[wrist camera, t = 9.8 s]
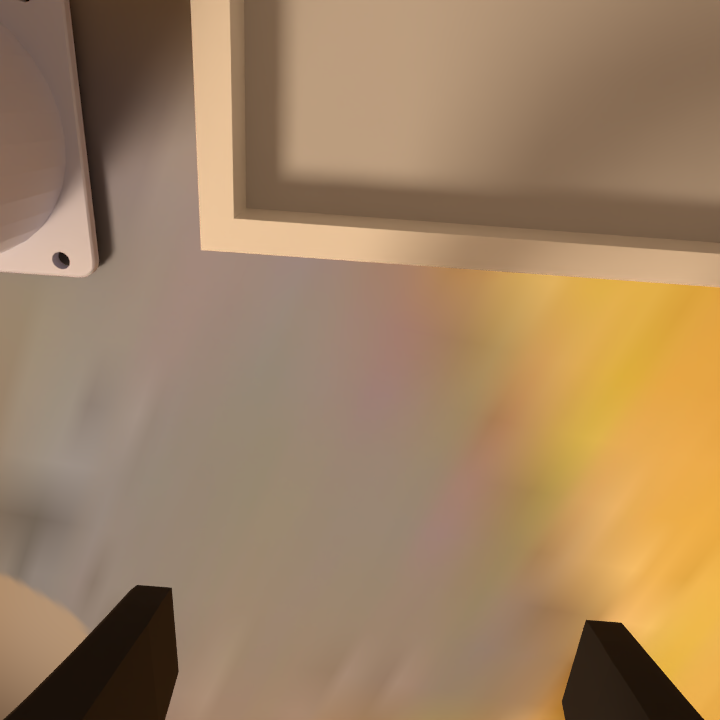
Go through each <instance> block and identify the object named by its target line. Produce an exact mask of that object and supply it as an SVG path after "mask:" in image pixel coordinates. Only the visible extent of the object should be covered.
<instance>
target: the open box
mask: <svg viewBox="0 0 720 720" xmlns="http://www.w3.org/2000/svg"><path fill="white" fill-rule="evenodd" d="M190 1H191V25H192V48H193V72H194V96H195V119H196V143H197V166H198V190H199V214H200V237H201V250H210V251H224V252H238V253H252V254H266V255H280V256H294V257H307V258H321V259H335V260H349V261H363V262H377V263H391V264H405V265H419V266H432V267H446V268H460V269H474V270H488V271H502V272H516V273H530V274H544V275H557V276H571V277H585V278H599V279H613V280H627V281H641V282H655V283H669V284H682V285H696V286H710V287H720V0H190Z"/></svg>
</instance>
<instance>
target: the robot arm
mask: <svg viewBox="0 0 720 720" xmlns="http://www.w3.org/2000/svg"><path fill="white" fill-rule="evenodd" d="M59 252H62V253H65V254H66V255H67V256H68V258H69V260H70V265H69V266H67V265H64V264H63V263H62V262H61V261H60V259H59ZM98 266H99V255H98V246H97V238H96V229H95V220H94V212H93V203H92V194H91V186H90V177H89V168H88V160H87V151H86V142H85V134H84V125H83V117H82V108H81V99H80V91H79V82H78V73H77V65H76V56H75V47H74V39H73V30H72V21H71V13H70V4H69V0H30V1H28V2H26V1H25V0H0V272H11V273H26V274H40V275H54V276H68V277H87V276H88V275H90V274H92V273H93V272H95V271H96V270H97V268H98ZM177 675H178V659H177V647H176V635H175V623H174V611H173V599H172V588H168V587H155V586H142V585H137V586H135V587H134V588H133V589H131V590H130V591H129V592H128V594H127V595H126V596H125V597H124V598H123V599H122V600H121V601H120V602H119V603H118V604H117V605H116V606H115V608H114V609H113V610H112V611H111V612H110V613H109V614H108V615H107V616H106V617H105V618H104V619H103V620H102V622H101V623H100V624H99V625H98V626H97V627H96V628H95V629H94V630H93V631H92V632H91V633H90V634H89V635H88V636H87V637H86V638H85V640H84V641H83V642H82V643H81V644H80V645H79V646H78V647H77V648H76V649H75V650H74V651H73V652H72V653H71V654H70V655H69V656H68V657H67V658H66V659H65V660H64V661H63V662H62V663H61V664H60V665H59V666H58V667H57V668H56V669H55V670H54V671H53V672H52V673H51V674H50V675H49V676H48V677H47V678H46V679H45V680H44V681H43V682H42V683H41V684H40V685H39V686H38V687H37V688H36V689H35V690H34V691H33V692H32V693H31V694H30V695H29V696H28V697H27V698H26V699H25V700H24V701H23V702H22V703H21V704H20V705H19V706H18V707H17V708H16V709H15V710H13V711H12V712H11V713H10V714H9V715H8V716H7V717H6V718H5V719H4V720H165V717H166V714H167V711H168V707H169V704H170V700H171V696H172V693H173V689H174V686H175V682H176V679H177ZM562 705H563V710H564V715H565V720H704V719H703V718H702V717H701V716H700V714H699V713H698V712H697V711H696V710H695V709H694V708H693V706H692V705H691V704H690V703H689V702H688V701H687V699H686V698H685V697H684V696H683V695H682V694H681V692H680V691H679V690H678V689H677V688H676V687H675V685H674V684H673V683H672V682H671V681H670V680H669V678H668V677H667V676H666V675H665V674H664V672H663V671H662V670H661V669H660V668H659V667H658V665H657V664H656V663H655V662H654V661H653V659H652V658H651V657H650V656H649V655H648V654H647V652H646V651H645V650H644V649H643V648H642V646H641V645H640V644H639V643H638V642H637V640H636V639H635V638H634V637H633V636H632V635H631V633H630V632H629V631H628V630H627V629H626V628H625V626H624V625H623V624H622V623H618V622H605V621H592V620H586V622H585V625H584V628H583V632H582V635H581V639H580V642H579V645H578V649H577V652H576V656H575V659H574V662H573V666H572V669H571V672H570V676H569V679H568V683H567V686H566V689H565V693H564V696H563V700H562Z"/></svg>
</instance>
